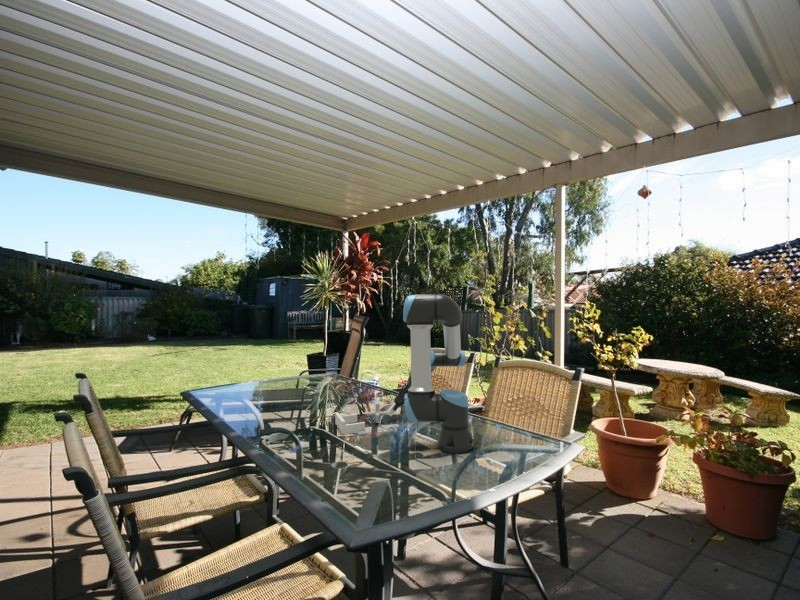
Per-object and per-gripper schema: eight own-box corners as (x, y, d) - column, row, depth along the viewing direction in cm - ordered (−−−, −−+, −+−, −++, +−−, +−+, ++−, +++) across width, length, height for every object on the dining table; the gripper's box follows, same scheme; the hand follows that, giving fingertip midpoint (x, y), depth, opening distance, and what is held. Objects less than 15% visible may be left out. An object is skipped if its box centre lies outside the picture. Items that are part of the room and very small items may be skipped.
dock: (368, 434, 197) (367, 421, 197) (345, 438, 194) (344, 425, 193) (354, 418, 222) (353, 407, 222) (333, 421, 218) (333, 409, 218)
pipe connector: (387, 426, 208) (386, 406, 207) (367, 427, 208) (366, 406, 208) (388, 419, 218) (387, 400, 217) (369, 420, 218) (368, 401, 218)
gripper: (427, 385, 215) (398, 422, 210) (418, 380, 227) (389, 415, 222) (417, 376, 213) (387, 413, 208) (408, 371, 225) (379, 406, 220)
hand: (388, 414), depth 215 cm, fingers closed
